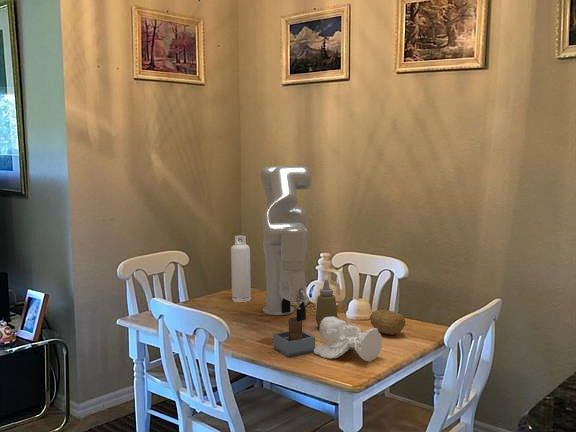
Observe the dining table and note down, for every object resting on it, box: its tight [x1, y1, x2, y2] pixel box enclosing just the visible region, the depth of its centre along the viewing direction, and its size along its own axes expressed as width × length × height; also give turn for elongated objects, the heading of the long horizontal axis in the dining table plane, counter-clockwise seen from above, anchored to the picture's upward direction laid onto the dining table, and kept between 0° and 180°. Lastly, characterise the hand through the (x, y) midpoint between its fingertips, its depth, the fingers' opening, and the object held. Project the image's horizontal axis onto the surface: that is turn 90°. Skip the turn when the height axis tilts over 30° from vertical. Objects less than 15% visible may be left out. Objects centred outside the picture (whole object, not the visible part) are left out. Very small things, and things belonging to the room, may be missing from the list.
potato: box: [369, 309, 406, 335], centre depth 214 cm, size 10×14×8 cm
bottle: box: [230, 235, 252, 303], centre depth 260 cm, size 8×8×28 cm
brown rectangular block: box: [288, 316, 303, 341], centre depth 197 cm, size 2×4×10 cm, turn 120°
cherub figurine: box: [313, 316, 383, 363], centre depth 192 cm, size 13×12×20 cm
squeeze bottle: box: [315, 279, 338, 330], centre depth 219 cm, size 8×8×18 cm
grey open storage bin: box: [272, 330, 316, 359], centre depth 197 cm, size 10×10×5 cm
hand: (293, 316), depth 197 cm, fingers open, 9 cm apart
